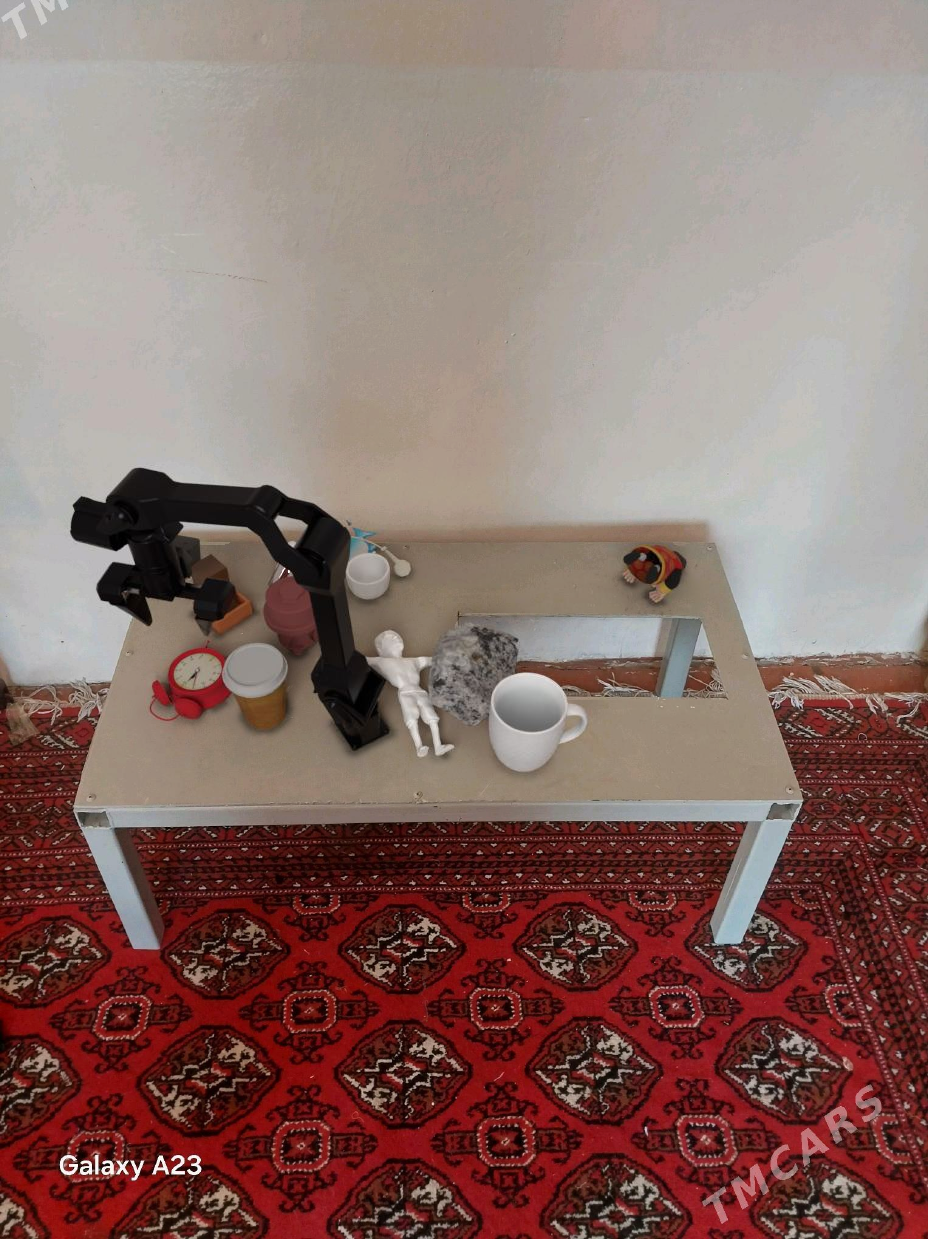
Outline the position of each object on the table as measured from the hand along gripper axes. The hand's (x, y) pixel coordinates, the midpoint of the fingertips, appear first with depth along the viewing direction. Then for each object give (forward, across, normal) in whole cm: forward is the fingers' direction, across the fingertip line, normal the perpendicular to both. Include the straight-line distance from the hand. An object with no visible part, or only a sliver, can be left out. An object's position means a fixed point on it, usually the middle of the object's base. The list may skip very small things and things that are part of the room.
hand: (179, 629), depth 130 cm
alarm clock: (+13, -1, +2) cm, 14 cm away
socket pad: (+13, +1, -15) cm, 20 cm away
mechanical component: (+13, -13, -12) cm, 22 cm away
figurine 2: (+5, -67, -33) cm, 75 cm away
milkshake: (+12, -6, -21) cm, 25 cm away
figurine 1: (+8, -42, +6) cm, 43 cm away
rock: (+3, -48, -8) cm, 48 cm away
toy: (+12, -20, -34) cm, 42 cm away
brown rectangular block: (+13, +2, -15) cm, 20 cm away
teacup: (+13, -22, -27) cm, 37 cm away
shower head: (+12, -11, -42) cm, 45 cm away
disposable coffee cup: (+13, -13, +3) cm, 19 cm away
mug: (+13, -54, +2) cm, 56 cm away
